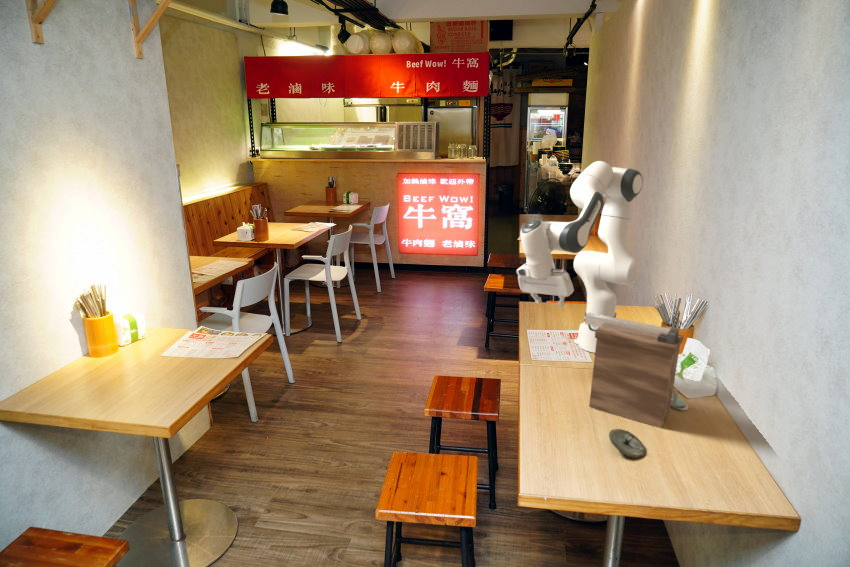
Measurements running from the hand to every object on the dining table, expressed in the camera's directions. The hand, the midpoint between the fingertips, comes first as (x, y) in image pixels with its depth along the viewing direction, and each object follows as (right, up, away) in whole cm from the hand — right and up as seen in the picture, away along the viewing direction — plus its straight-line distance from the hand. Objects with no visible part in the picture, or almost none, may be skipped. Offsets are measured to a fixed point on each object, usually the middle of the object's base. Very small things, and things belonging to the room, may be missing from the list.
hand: (549, 304), depth 200 cm
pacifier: (+39, -33, -12) cm, 52 cm away
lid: (+13, -40, -37) cm, 56 cm away
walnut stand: (+22, -33, -15) cm, 43 cm away
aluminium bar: (+19, -7, -21) cm, 29 cm away
